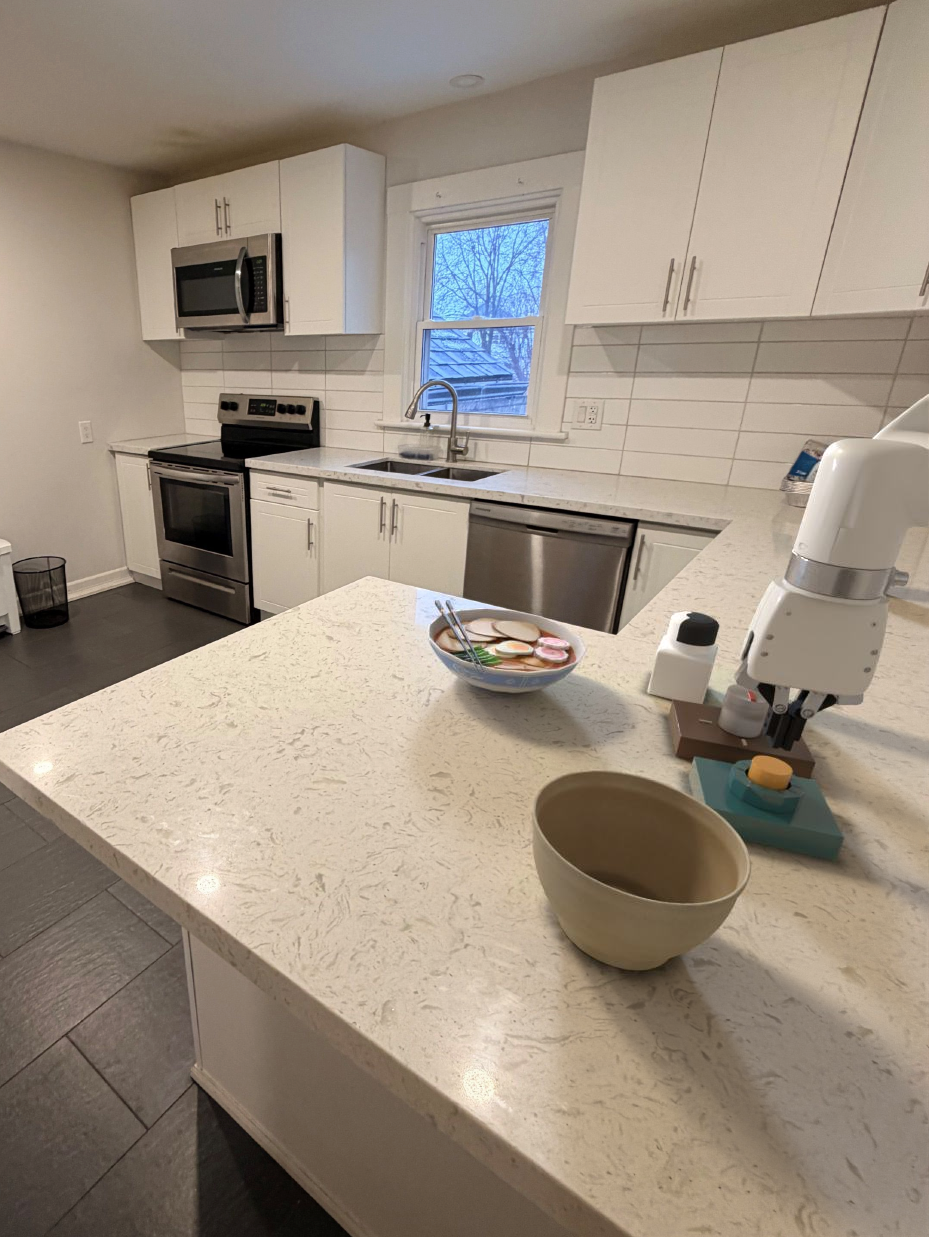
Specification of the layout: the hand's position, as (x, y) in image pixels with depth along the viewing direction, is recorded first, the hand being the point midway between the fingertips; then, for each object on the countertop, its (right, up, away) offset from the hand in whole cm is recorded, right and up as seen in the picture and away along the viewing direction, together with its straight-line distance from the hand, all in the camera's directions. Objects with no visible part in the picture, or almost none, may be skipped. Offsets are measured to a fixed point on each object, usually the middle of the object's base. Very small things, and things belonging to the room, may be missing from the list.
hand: (777, 742), depth 69 cm
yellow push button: (0, -4, +2) cm, 5 cm away
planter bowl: (-22, -14, -10) cm, 28 cm away
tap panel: (+5, -4, +15) cm, 17 cm away
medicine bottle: (+6, +2, +29) cm, 30 cm away
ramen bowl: (-20, +3, +32) cm, 38 cm away
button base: (0, -9, +3) cm, 9 cm away
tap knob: (+5, -1, +14) cm, 15 cm away
